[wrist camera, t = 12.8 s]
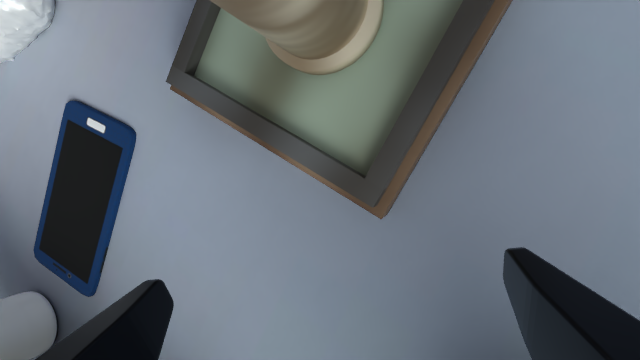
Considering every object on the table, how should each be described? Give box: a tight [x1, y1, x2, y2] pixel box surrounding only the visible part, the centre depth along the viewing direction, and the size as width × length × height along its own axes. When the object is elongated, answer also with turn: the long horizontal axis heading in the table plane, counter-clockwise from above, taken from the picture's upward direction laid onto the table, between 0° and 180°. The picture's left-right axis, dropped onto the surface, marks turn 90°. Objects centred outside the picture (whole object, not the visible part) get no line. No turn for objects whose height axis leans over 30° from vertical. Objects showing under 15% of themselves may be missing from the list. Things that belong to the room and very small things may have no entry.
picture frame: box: [166, 0, 512, 219], centre depth 18 cm, size 15×15×2 cm
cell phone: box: [34, 101, 136, 297], centre depth 28 cm, size 7×14×1 cm, turn 161°
